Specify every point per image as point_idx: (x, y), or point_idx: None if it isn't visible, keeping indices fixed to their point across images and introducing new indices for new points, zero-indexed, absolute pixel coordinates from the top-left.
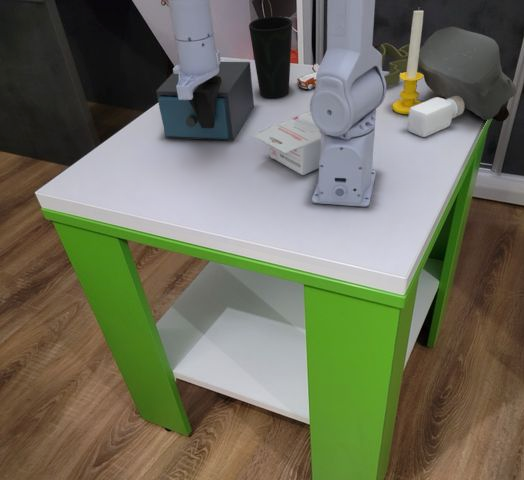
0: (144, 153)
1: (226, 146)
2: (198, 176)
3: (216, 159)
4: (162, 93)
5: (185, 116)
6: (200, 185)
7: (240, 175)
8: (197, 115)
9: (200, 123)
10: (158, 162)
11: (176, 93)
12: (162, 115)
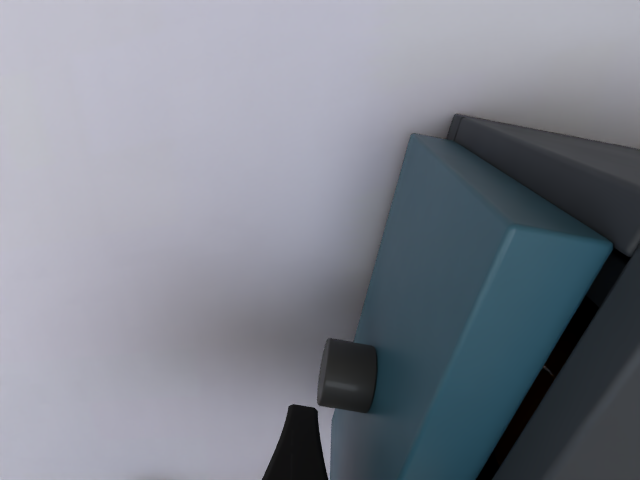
0: (249, 7)
1: (312, 397)
2: (64, 327)
3: (204, 373)
4: (623, 308)
5: (382, 355)
6: (4, 340)
7: (105, 440)
8: (265, 474)
9: (283, 428)
10: (148, 132)
11: (524, 465)
12: (439, 180)
